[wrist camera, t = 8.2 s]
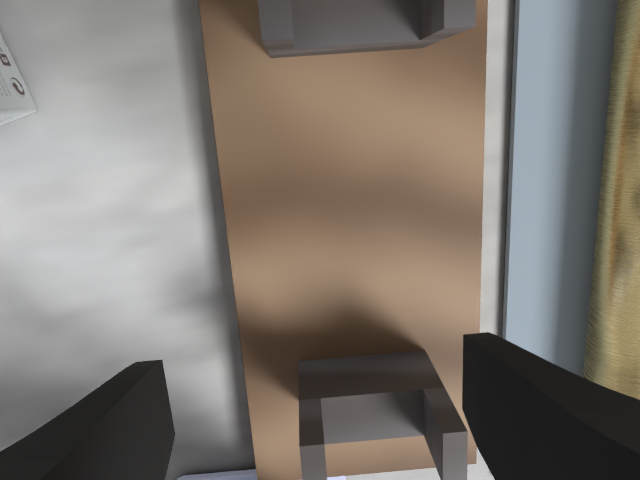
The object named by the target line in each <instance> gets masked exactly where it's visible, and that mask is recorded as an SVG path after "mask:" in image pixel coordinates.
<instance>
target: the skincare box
mask: <svg viewBox="0 0 640 480" xmlns="http://www.w3.org/2000/svg"><path fill="white" fill-rule="evenodd" d="M35 112H37V106H36V104H35V102H34V100H33V98H32V96H31V94H30V92H29V90H28V88H27V86H26V84H25V82H24V80H23V77H22V75H21V74H20V72H19V70H18V68H17V66H16V63H15V61H14V59H13V57H12V55H11V53H10V51H9V49H8V47H7V45H6V43H5V41H4V39H3V37H2V35H1V32H0V125H3V124H5V123H8V122H11V121H13V120H16V119H19V118H22V117H24V116H27V115H30V114H33V113H35Z"/></svg>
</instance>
